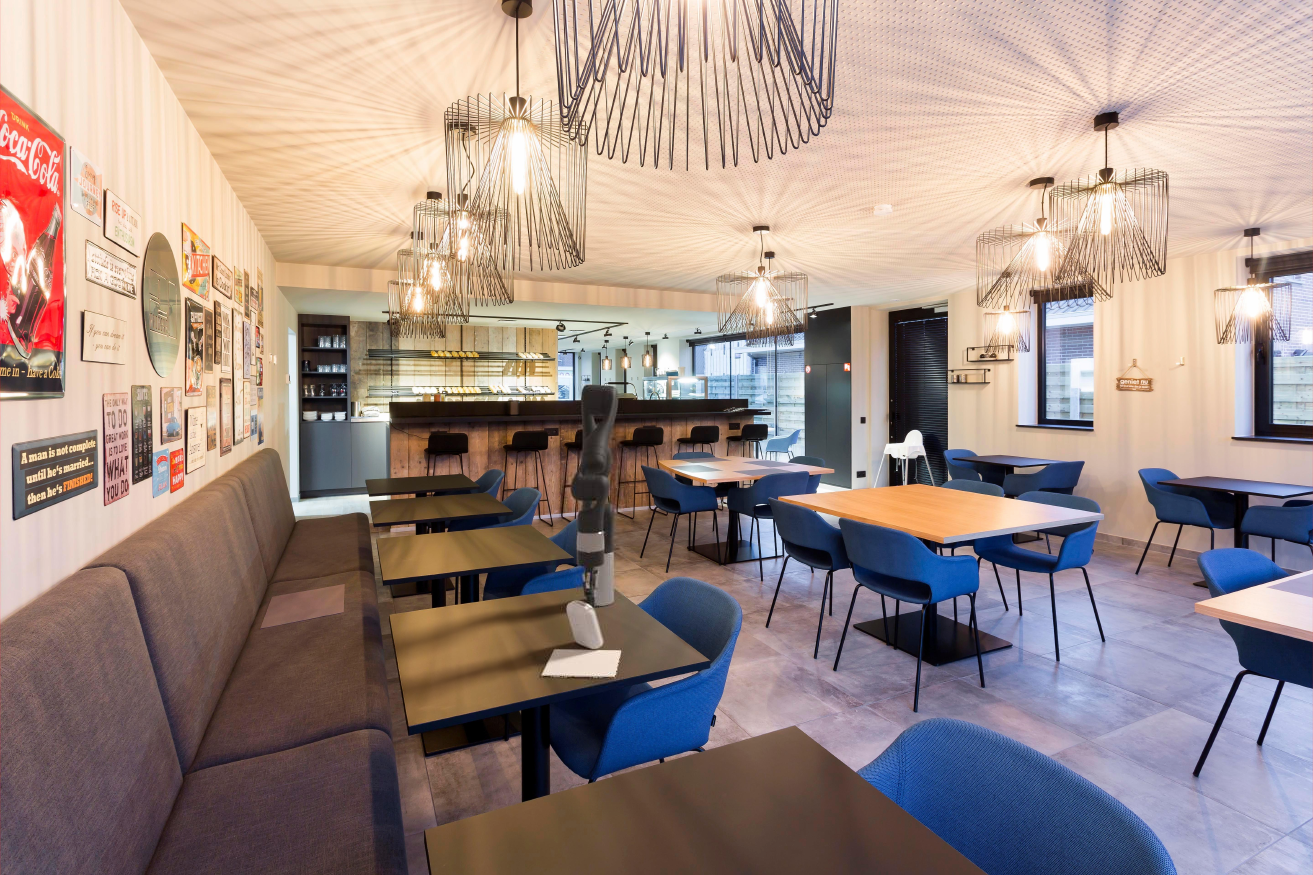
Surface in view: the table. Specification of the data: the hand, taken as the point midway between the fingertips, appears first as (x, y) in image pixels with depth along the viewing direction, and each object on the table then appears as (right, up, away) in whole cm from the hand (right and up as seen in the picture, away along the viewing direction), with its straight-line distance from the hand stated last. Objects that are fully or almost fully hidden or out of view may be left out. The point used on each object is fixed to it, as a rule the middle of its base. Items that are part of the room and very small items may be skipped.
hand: (590, 609), depth 175 cm
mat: (-1, -11, -13) cm, 17 cm away
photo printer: (0, -9, -1) cm, 9 cm away
